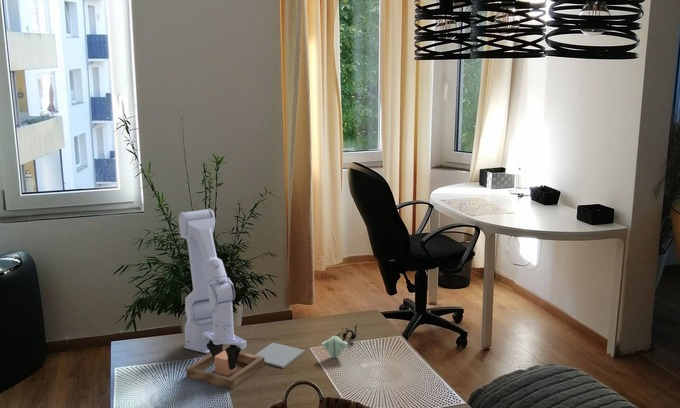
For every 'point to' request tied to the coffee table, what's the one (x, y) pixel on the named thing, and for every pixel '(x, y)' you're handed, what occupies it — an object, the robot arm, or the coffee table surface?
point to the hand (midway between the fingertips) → (225, 366)
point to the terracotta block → (223, 364)
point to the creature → (347, 333)
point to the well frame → (228, 382)
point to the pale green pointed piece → (334, 346)
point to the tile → (279, 354)
